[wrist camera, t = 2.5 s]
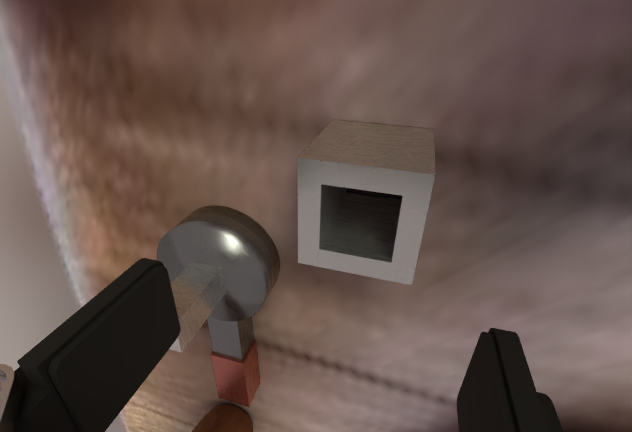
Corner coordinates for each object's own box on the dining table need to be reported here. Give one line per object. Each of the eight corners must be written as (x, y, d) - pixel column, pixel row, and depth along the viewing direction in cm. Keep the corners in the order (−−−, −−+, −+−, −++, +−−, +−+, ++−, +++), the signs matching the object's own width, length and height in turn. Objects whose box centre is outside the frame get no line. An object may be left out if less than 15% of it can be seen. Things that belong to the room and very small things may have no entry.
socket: (433, 129, 17) (435, 174, 12) (416, 217, 20) (411, 285, 15) (333, 119, 18) (297, 157, 13) (329, 204, 21) (298, 262, 16)
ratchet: (277, 215, 23) (216, 296, 16) (284, 390, 32) (248, 484, 26) (172, 198, 24) (79, 263, 18) (208, 368, 34) (156, 451, 27)
